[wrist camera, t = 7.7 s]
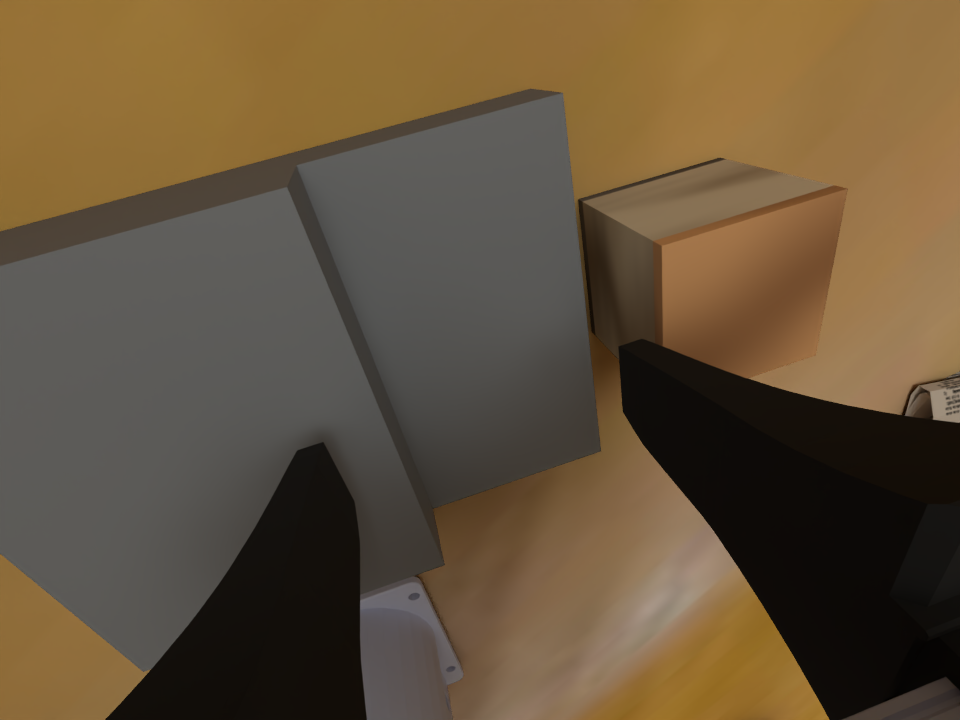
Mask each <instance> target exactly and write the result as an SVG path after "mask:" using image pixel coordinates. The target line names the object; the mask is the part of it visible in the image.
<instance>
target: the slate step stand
mask: <svg viewBox="0 0 960 720" xmlns="http://www.w3.org/2000/svg"><path fill="white" fill-rule="evenodd" d="M321 442H324V444H325V446H326V448H327V450H328V452H329V453H330V455H331V457H332V459H333V461H334V463H335V465H336V467H337V469H338V471H339V473H340V475H341V476H342V478H343V480H344V482H345V484H346V486H347V488H348V490H349V492H350V494H351V496H352V498H353V499H354V501H355V507H356V514H357V521H358V529H359V538H360V595H361V594H364V593H367V592H370V591H373V590H375V589H378V588H381V587H384V586H387V585H390V584H392V583H395V582H398V581H401V580H404V579H407V578H409V577H412V576H415V575H418V574H421V573H423V572H426V571H429V570H432V569H435V568H438V567H440V566H443V565H445V564H444V560H443V555H442V550H441V545H440V541H439V536H438V531H437V526H436V522H435V517H434V512H433V509H434V508H437V507H439V506H442V505H445V504H448V503H451V502H454V501H457V500H460V499H463V498H466V497H469V496H472V495H474V494H477V493H480V492H483V491H486V490H489V489H492V488H495V487H498V486H501V485H504V484H507V483H509V482H512V481H515V480H518V479H521V478H524V477H527V476H530V475H533V474H536V473H539V472H541V471H544V470H547V469H550V468H553V467H556V466H559V465H562V464H565V463H568V462H571V461H574V460H576V459H579V458H582V457H585V456H588V455H591V454H594V453H597V452H600V451H601V447H600V437H599V428H598V419H597V409H596V400H595V391H594V381H593V372H592V362H591V353H590V344H589V334H588V325H587V316H586V306H585V297H584V287H583V278H582V269H581V259H580V250H579V241H578V231H577V222H576V212H575V203H574V194H573V184H572V175H571V166H570V156H569V147H568V137H567V128H566V119H565V109H564V100H563V93H559V92H552V91H544V90H536V89H528V90H524V91H521V92H517V93H513V94H509V95H506V96H502V97H498V98H495V99H491V100H487V101H483V102H480V103H476V104H472V105H469V106H465V107H461V108H457V109H454V110H450V111H446V112H443V113H439V114H435V115H432V116H428V117H424V118H420V119H417V120H413V121H409V122H406V123H402V124H398V125H394V126H391V127H387V128H383V129H380V130H376V131H372V132H368V133H365V134H361V135H357V136H354V137H350V138H346V139H342V140H339V141H335V142H331V143H328V144H324V145H320V146H316V147H313V148H309V149H305V150H302V151H298V152H294V153H290V154H287V155H283V156H279V157H276V158H272V159H268V160H264V161H261V162H257V163H253V164H250V165H246V166H242V167H239V168H235V169H231V170H227V171H224V172H220V173H216V174H213V175H209V176H205V177H201V178H198V179H194V180H190V181H187V182H183V183H179V184H175V185H172V186H168V187H164V188H161V189H157V190H153V191H149V192H146V193H142V194H138V195H135V196H131V197H127V198H123V199H120V200H116V201H112V202H109V203H105V204H101V205H97V206H94V207H90V208H86V209H83V210H79V211H75V212H71V213H68V214H64V215H60V216H57V217H53V218H49V219H45V220H42V221H38V222H34V223H31V224H27V225H23V226H20V227H16V228H12V229H8V230H5V231H1V232H0V554H1V555H3V556H4V557H5V558H6V559H8V560H9V561H10V562H11V563H12V564H14V565H15V566H16V567H17V568H18V569H20V570H21V571H22V572H23V573H24V574H26V575H27V576H28V577H29V578H31V579H32V580H33V581H34V582H35V583H37V584H38V585H39V586H40V587H41V588H43V589H44V590H45V591H46V592H47V593H49V594H50V595H51V596H52V597H54V598H55V599H56V600H57V601H58V602H60V603H61V604H62V605H63V606H64V607H66V608H67V609H68V610H69V611H70V612H72V613H73V614H74V615H75V616H76V617H78V618H79V619H80V620H81V621H83V622H84V623H85V624H86V625H87V626H89V627H90V628H91V629H92V630H93V631H95V632H96V633H97V634H98V635H99V636H101V637H102V638H103V639H104V640H106V641H107V642H108V643H109V644H110V645H112V646H113V647H114V648H115V649H116V650H118V651H119V652H120V653H121V654H122V655H124V656H125V657H126V658H127V659H129V660H130V661H131V662H132V663H133V664H135V665H136V666H137V667H138V668H139V669H141V670H142V671H143V672H144V671H147V670H150V669H152V668H153V667H154V666H155V664H156V663H157V662H158V661H159V660H160V658H161V657H162V656H163V655H164V654H165V652H166V651H167V650H168V649H169V647H170V646H171V645H172V644H173V643H174V641H175V640H176V639H177V638H178V637H179V635H180V634H181V633H182V632H183V631H184V629H185V628H186V627H187V626H188V625H189V623H190V622H191V621H192V619H193V618H194V617H195V616H196V614H197V613H198V612H199V610H200V609H201V608H202V606H203V605H204V604H205V602H206V601H207V599H208V598H209V597H210V595H211V594H212V593H213V591H214V590H215V589H216V587H217V586H218V584H219V583H220V581H221V580H222V579H223V577H224V576H225V574H226V573H227V571H228V570H229V568H230V567H231V565H232V564H233V562H234V560H235V559H236V557H237V556H238V554H239V552H240V551H241V549H242V547H243V546H244V544H245V543H246V541H247V539H248V538H249V536H250V535H251V533H252V531H253V530H254V528H255V526H256V524H257V523H258V521H259V519H260V517H261V516H262V514H263V512H264V510H265V508H266V507H267V505H268V503H269V501H270V499H271V498H272V496H273V494H274V492H275V490H276V488H277V486H278V485H279V483H280V481H281V479H282V477H283V475H284V473H285V471H286V469H287V468H288V466H289V464H290V462H291V460H292V459H293V457H294V455H295V453H296V451H297V450H300V449H303V448H306V447H309V446H312V445H315V444H318V443H321Z"/></svg>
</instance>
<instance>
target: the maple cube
mask: <svg viewBox="0 0 960 720" xmlns="http://www.w3.org/2000/svg"><path fill="white" fill-rule="evenodd" d="M846 195H847V188H843V187H838V186H834V185H830V184H826V183H822V182H818V181H814V180H810V179H806V178H801V177H797V176H793V175H789V174H785V173H781V172H777V171H773V170H768V169H764V168H760V167H756V166H752V165H748V164H744V163H740V162H735V161H731V160H727V159H723V158H717V159H714V160H710V161H707V162H704V163H700V164H697V165H693V166H690V167H687V168H683V169H680V170H676V171H673V172H669V173H666V174H663V175H659V176H656V177H652V178H649V179H646V180H642V181H639V182H635V183H632V184H629V185H625V186H622V187H618V188H615V189H612V190H608V191H605V192H601V193H598V194H594V195H591V196H588V197H584V198H581V199H578V202H579V212H580V221H581V231H582V241H583V251H584V261H585V270H586V280H587V290H588V300H589V310H590V319H591V329H592V332H593V333H594V334H595V335H596V336H597V337H598V338H599V340H600V341H601V342H602V343H603V344H604V345H605V346H606V347H607V348H608V349H609V350H610V351H611V352H612V353H613V354H614V355H615V356H616V357H617V358H618V359H619V349H618V346H621V345H624V344H627V343H630V342H633V341H636V340H639V339H644V340H647V341H650V342H653V343H656V344H658V345H661V346H663V347H666V348H668V349H671V350H673V351H676V352H678V353H681V354H683V355H686V356H688V357H691V358H693V359H696V360H698V361H701V362H704V363H706V364H709V365H711V366H714V367H717V368H719V369H722V370H725V371H727V372H730V373H733V374H736V375H739V376H742V377H744V378H750V377H753V376H756V375H759V374H762V373H765V372H768V371H771V370H773V369H776V368H779V367H782V366H785V365H788V364H791V363H794V362H797V361H800V360H803V359H806V358H809V357H812V356H815V355H816V351H817V346H818V341H819V336H820V331H821V325H822V320H823V315H824V310H825V304H826V299H827V294H828V289H829V284H830V278H831V273H832V268H833V263H834V257H835V252H836V247H837V242H838V237H839V231H840V226H841V221H842V216H843V210H844V205H845V200H846Z"/></svg>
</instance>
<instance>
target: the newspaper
mask: <svg viewBox="0 0 960 720" xmlns="http://www.w3.org/2000/svg"><path fill="white" fill-rule="evenodd" d="M955 377H960V372H958V373H956V374H953V375H951V376H949V377H947V378H945V379H949V378H955ZM904 416H910V417H917V418H925V419H933V420H941V421H949V422H956V423H960V378H955V379H950V380H945V381H940V382H935V383H930V384H925V385H919V386H918V387H917V388H916V389H915V390H914V391H913V393H912V394H911V396H910V399H909V403H908V407H907V410H906V414H905V415H904Z"/></svg>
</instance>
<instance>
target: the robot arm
mask: <svg viewBox="0 0 960 720" xmlns="http://www.w3.org/2000/svg"><path fill="white" fill-rule="evenodd" d="M618 349H619V363H620V378H621V392H622V407H623V413H624V414H625V416H626V418H627V419H628V421H629V423H630V424H631V426H632V428H633V429H634V431H635V432H636V434H637V436H638V437H639V439H640V440H641V442H642V443H643V445H644V446H645V447H646V449H647V450H648V451H649V452H650V454H651V455H652V456H653V457H654V458H655V460H656V461H657V462H658V463H659V464H660V466H661V467H662V468H663V469H664V471H665V472H666V473H667V474H668V475H669V477H670V478H671V479H672V480H673V481H674V483H675V484H676V485H677V486H678V487H679V488H680V490H681V491H682V492H683V493H684V494H685V496H686V497H687V498H688V499H689V500H690V502H691V503H692V504H693V505H694V506H695V508H696V509H697V510H698V511H699V512H700V514H701V515H702V516H703V517H704V519H705V520H706V521H707V523H708V524H709V525H710V527H711V528H712V529H713V531H714V532H715V533H716V535H717V536H718V538H719V539H720V541H721V542H722V544H723V545H724V547H725V548H726V550H727V551H728V553H729V554H730V556H731V557H732V559H733V560H734V562H735V563H736V565H737V566H738V568H739V569H740V571H741V572H742V574H743V575H744V577H745V578H746V580H747V582H748V583H749V585H750V586H751V588H752V589H753V591H754V592H755V594H756V596H757V597H758V599H759V600H760V602H761V603H762V605H763V606H764V608H765V610H766V611H767V613H768V615H769V616H770V618H771V620H772V621H773V623H774V624H775V626H776V628H777V629H778V631H779V633H780V634H781V636H782V638H783V639H784V641H785V643H786V644H787V646H788V648H789V649H790V651H791V652H792V654H793V656H794V658H795V659H796V661H797V663H798V665H799V666H800V668H801V670H802V672H803V673H804V675H805V677H806V678H807V680H808V682H809V684H810V685H811V687H812V689H813V691H814V692H815V694H816V696H817V698H818V699H819V701H820V703H821V705H822V706H823V708H824V710H825V712H826V714H827V716H828V717H829V719H830V720H960V423H956V422H949V421H941V420H933V419H925V418H917V417H910V416H904V415H897V414H891V413H885V412H879V411H874V410H869V409H863V408H858V407H853V406H847V405H843V404H838V403H834V402H829V401H825V400H821V399H817V398H813V397H809V396H805V395H801V394H797V393H793V392H789V391H786V390H782V389H779V388H776V387H772V386H769V385H766V384H763V383H760V382H757V381H754V380H751V379H748V378H744V377H742V376H739V375H736V374H733V373H730V372H727V371H725V370H722V369H719V368H717V367H714V366H711V365H709V364H706V363H704V362H701V361H698V360H696V359H693V358H691V357H688V356H686V355H683V354H681V353H678V352H676V351H673V350H671V349H668V348H666V347H663V346H661V345H658V344H656V343H653V342H650V341H647V340H644V339H639V340H636V341H633V342H630V343H627V344H624V345H621V346H618ZM463 676H464V674H463V669H462V666H461V664H460V662H459V660H458V658H457V656H456V654H455V652H454V650H453V647H452V645H451V643H450V641H449V639H448V637H447V635H446V633H445V631H444V628H443V626H442V624H441V622H440V620H439V618H438V616H437V614H436V612H435V609H434V607H433V605H432V603H431V601H430V599H429V597H428V595H427V593H426V591H425V588H424V586H423V584H422V582H421V580H420V579H419V578H417V577H415V576H412V577H409V578H407V579H404V580H401V581H398V582H395V583H392V584H390V585H387V586H384V587H381V588H378V589H375V590H373V591H370V592H367V593H364V594H361V595H360V538H359V529H358V521H357V514H356V507H355V501H354V499H353V498H352V496H351V494H350V492H349V490H348V488H347V486H346V484H345V482H344V480H343V478H342V476H341V475H340V473H339V471H338V469H337V467H336V465H335V463H334V461H333V459H332V457H331V455H330V453H329V452H328V450H327V448H326V446H325V444H324V442H321V443H318V444H315V445H312V446H309V447H306V448H303V449H300V450H297V451H296V453H295V455H294V457H293V459H292V460H291V462H290V464H289V466H288V468H287V469H286V471H285V473H284V475H283V477H282V479H281V481H280V483H279V485H278V486H277V488H276V490H275V492H274V494H273V496H272V498H271V499H270V501H269V503H268V505H267V507H266V508H265V510H264V512H263V514H262V516H261V517H260V519H259V521H258V523H257V524H256V526H255V528H254V530H253V531H252V533H251V535H250V536H249V538H248V539H247V541H246V543H245V544H244V546H243V547H242V549H241V551H240V552H239V554H238V556H237V557H236V559H235V560H234V562H233V564H232V565H231V567H230V568H229V570H228V571H227V573H226V574H225V576H224V577H223V579H222V580H221V581H220V583H219V584H218V586H217V587H216V589H215V590H214V591H213V593H212V594H211V595H210V597H209V598H208V599H207V601H206V602H205V604H204V605H203V606H202V608H201V609H200V610H199V612H198V613H197V614H196V616H195V617H194V618H193V619H192V621H191V622H190V623H189V625H188V626H187V627H186V628H185V629H184V631H183V632H182V633H181V634H180V635H179V637H178V638H177V639H176V640H175V641H174V643H173V644H172V645H171V646H170V647H169V649H168V650H167V651H166V652H165V654H164V655H163V656H162V657H161V658H160V660H159V661H158V662H157V663H156V664H155V666H154V667H153V668H152V669H151V670H150V671H149V673H148V674H147V675H146V676H145V677H144V678H143V679H142V681H141V682H140V683H139V684H138V685H137V686H136V687H135V688H134V689H133V690H132V692H131V693H130V694H129V695H128V696H127V697H126V698H125V699H124V700H123V701H122V703H121V704H120V705H119V706H118V707H117V708H116V709H115V710H114V711H113V712H112V713H111V714H110V715H109V716H108V717H107V718H106V719H105V720H453V716H452V710H451V705H450V699H449V693H448V687H447V685H449V684H452V683H455V682H457V681H459V680H461V679H462V677H463Z"/></svg>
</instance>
